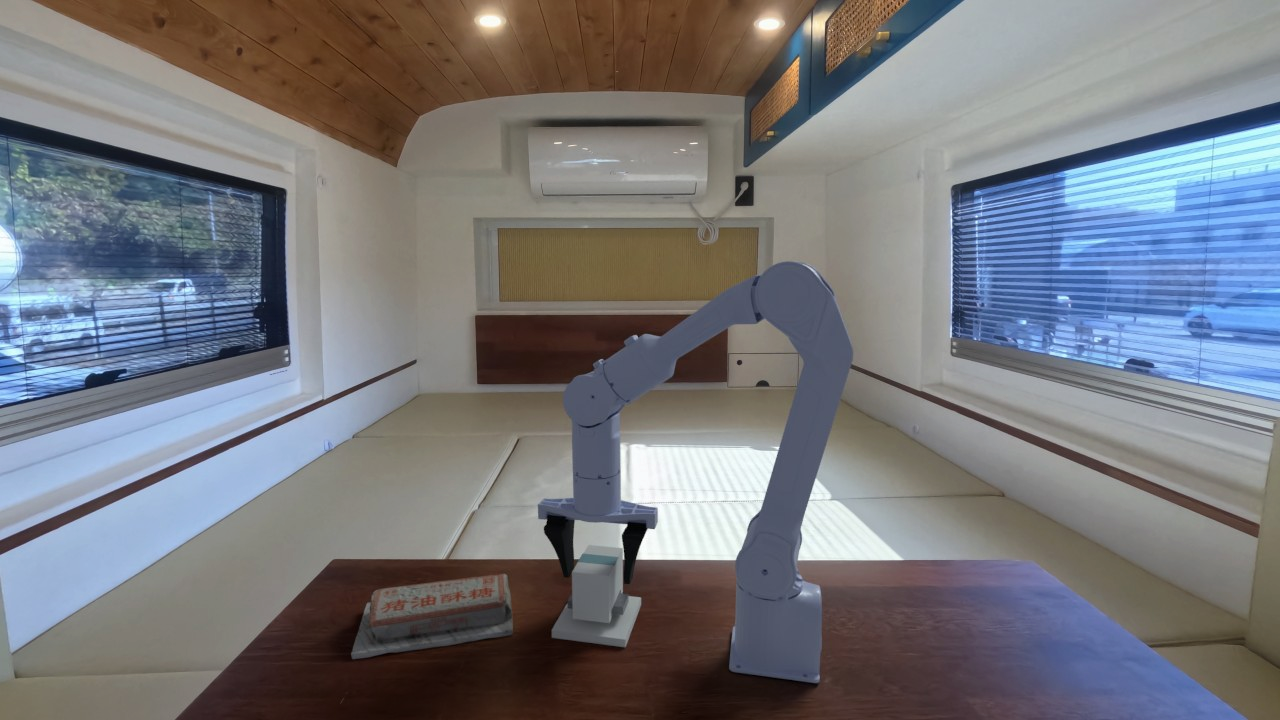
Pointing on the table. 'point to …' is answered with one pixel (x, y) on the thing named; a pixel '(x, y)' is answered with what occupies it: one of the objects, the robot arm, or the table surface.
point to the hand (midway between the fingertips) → (598, 576)
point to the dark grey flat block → (618, 605)
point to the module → (597, 583)
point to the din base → (598, 626)
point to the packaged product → (434, 615)
